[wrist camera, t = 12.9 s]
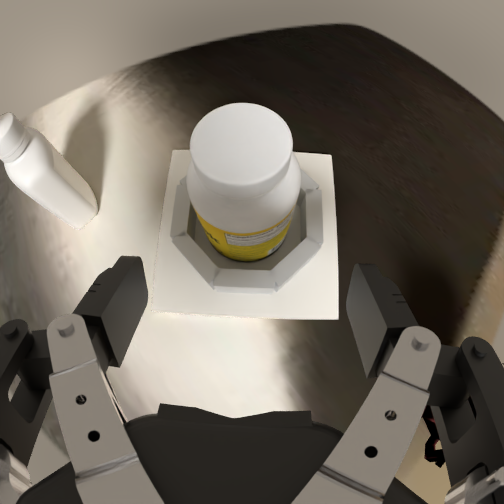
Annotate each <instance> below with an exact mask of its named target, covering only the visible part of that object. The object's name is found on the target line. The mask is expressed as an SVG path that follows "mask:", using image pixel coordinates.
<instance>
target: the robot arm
mask: <svg viewBox="0 0 504 504" xmlns="http://www.w3.org/2000/svg"><path fill="white" fill-rule="evenodd" d="M147 301H148V289H147V284H146V279H145V274H144V268H143V263H142V259H141V258H140V257H138V256H121V257H120V258H119V259H118V260H117V262H116V263H115V265H114V266H113V267H112V268H108V269H107V270H105V271H104V272H102V273H101V274H100V275H99V276H98V277H97V278H96V280H95V281H94V283H93V285H91V287H90V288H89V290H88V292H87V293H86V294H85V295H84V297H83V298H82V300H81V301H80V303H79V304H78V306H77V307H76V309H75V310H74V312H73V313H72V314H65V315H62V316H59V317H58V318H56V319H54V320H53V321H52V322H51V323H50V325H49V326H48V328H47V330H37V331H30V329H29V327H28V325H27V323H26V322H25V321H24V320H21V319H15V320H11V321H9V322H7V323H5V324H4V325H3V326H2V327H1V328H0V504H428V503H426V502H425V501H424V500H423V499H421V498H420V497H419V496H418V495H416V494H415V493H414V492H412V491H411V490H410V489H409V488H407V487H406V486H405V485H404V484H403V483H401V482H400V481H399V480H398V479H397V478H395V477H394V476H395V474H396V472H397V470H398V468H399V466H400V464H401V462H402V460H403V458H404V456H405V454H406V452H407V450H408V447H409V445H410V443H411V441H412V438H413V436H414V434H415V431H416V429H417V427H418V424H419V422H420V419H421V417H422V414H423V412H424V409H425V406H426V405H430V407H431V410H432V413H433V417H434V420H435V423H436V427H437V431H438V434H439V438H440V441H441V445H442V449H443V453H444V457H445V462H446V466H447V470H448V475H449V479H450V484H451V489H450V490H449V491H448V493H447V495H446V498H445V504H504V368H503V366H502V364H501V362H500V360H499V358H498V357H497V355H496V353H495V351H494V349H493V348H492V346H491V345H490V344H489V343H488V342H487V341H485V340H483V339H481V338H479V337H468V338H466V339H465V340H464V341H463V343H462V345H461V346H460V348H459V347H453V346H447V345H442V344H441V343H440V340H439V338H438V337H437V336H436V335H435V334H434V333H433V332H432V331H430V330H428V329H426V328H424V327H420V326H419V325H418V323H417V321H416V319H415V317H414V315H413V314H412V312H411V310H410V308H409V306H408V304H407V303H406V301H405V299H404V297H403V296H402V294H401V292H400V290H399V288H398V287H397V285H396V284H395V283H394V282H392V281H391V280H390V279H389V278H388V277H382V275H381V273H380V271H379V269H378V268H377V266H376V265H375V264H355V266H354V269H353V273H352V278H351V282H350V286H349V291H348V295H347V301H346V309H347V314H348V317H349V320H350V324H351V327H352V330H353V333H354V336H355V340H356V343H357V346H358V349H359V353H360V356H361V360H362V363H363V366H364V370H365V373H366V377H367V378H375V377H378V379H377V381H376V383H375V385H374V386H373V388H372V390H371V392H370V393H369V395H368V397H367V398H366V400H365V402H364V404H363V405H362V407H361V409H360V410H359V412H358V413H357V415H356V417H355V418H354V420H353V421H352V423H351V424H350V426H349V428H348V429H347V431H346V432H345V434H343V433H342V432H340V431H339V430H337V429H335V428H333V427H330V426H328V425H325V424H322V423H318V422H314V421H312V419H311V411H273V412H268V413H263V414H258V415H252V416H247V417H241V418H229V417H225V416H222V415H218V414H215V413H212V412H208V411H205V410H202V409H199V408H196V407H186V406H177V405H169V404H161V403H160V406H159V409H158V413H157V414H150V415H145V416H141V417H138V418H135V419H133V420H130V421H128V420H127V418H126V416H125V414H124V412H123V410H122V408H121V406H120V404H119V401H118V399H117V397H116V394H115V392H114V390H113V387H112V385H111V383H110V380H109V378H108V375H107V373H106V371H107V369H108V366H113V367H119V368H120V366H121V364H122V361H123V359H124V357H125V354H126V352H127V349H128V347H129V345H130V342H131V340H132V337H133V335H134V333H135V330H136V328H137V326H138V324H139V321H140V319H141V317H142V315H143V312H144V310H145V308H146V305H147ZM16 374H18V376H19V377H20V379H21V381H20V383H19V385H18V387H17V389H16V391H15V393H14V395H13V397H12V399H11V402H10V401H9V398H8V390H9V388H10V385H11V384H12V382H13V380H14V378H15V376H16ZM470 396H471V399H472V401H473V404H474V406H475V409H476V420H475V417H474V415H473V412H472V409H471V406H470V404H469V401H468V398H469V397H470ZM52 398H53V400H54V404H55V408H56V412H57V416H58V420H59V423H60V427H61V430H62V434H63V437H64V441H65V444H66V447H67V450H68V453H69V456H70V459H71V461H70V462H69V463H67V464H66V465H65V466H63V467H61V468H60V469H58V470H57V471H55V472H54V473H52V474H51V475H49V476H48V477H46V478H45V479H43V480H41V481H40V482H39V483H37V484H35V485H34V486H33V485H32V483H31V482H30V475H29V471H28V469H27V466H28V463H29V459H30V456H31V454H32V451H33V447H34V444H35V442H36V439H37V436H38V433H39V431H40V428H41V425H42V423H43V420H44V418H45V415H46V412H47V410H48V407H49V405H50V402H51V400H52Z"/></svg>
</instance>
